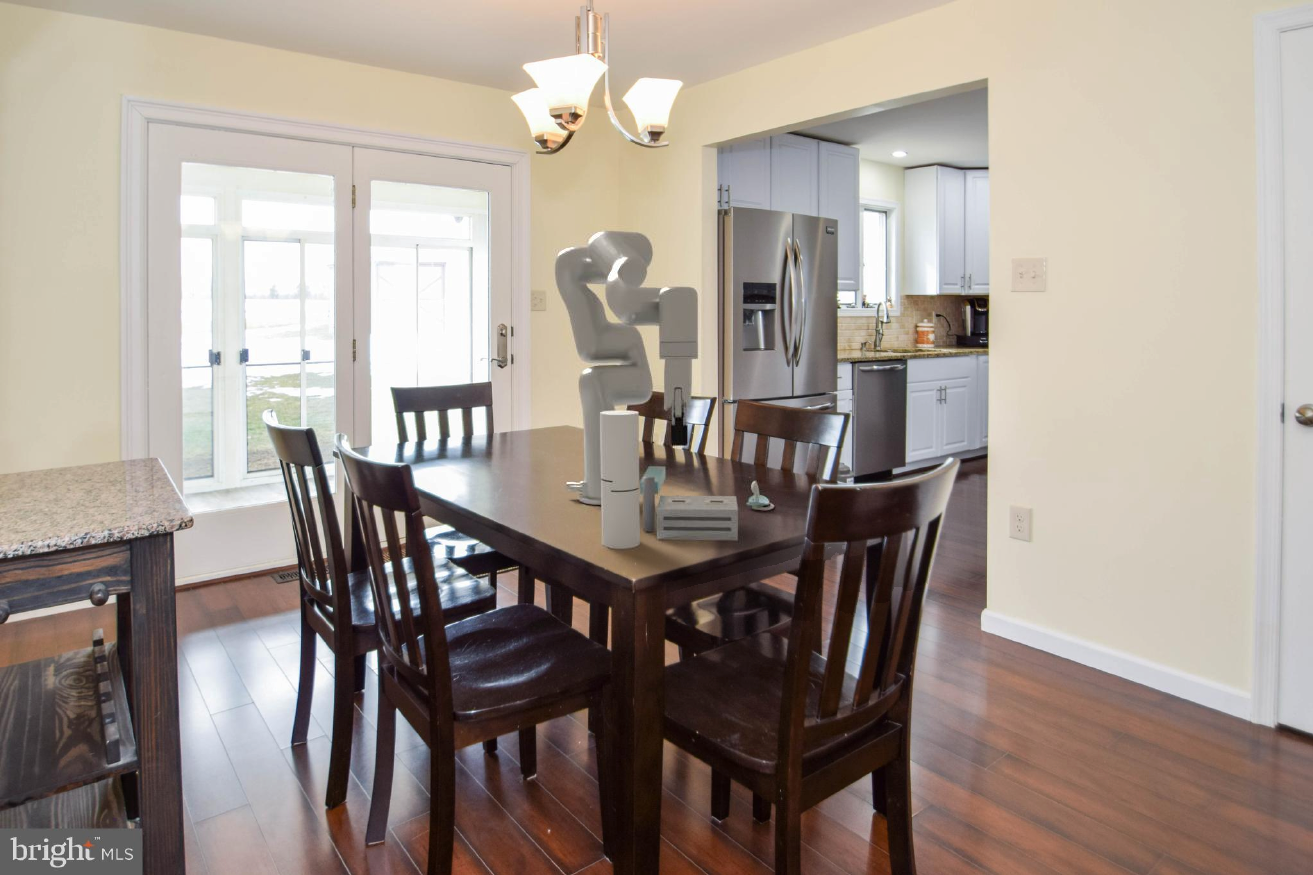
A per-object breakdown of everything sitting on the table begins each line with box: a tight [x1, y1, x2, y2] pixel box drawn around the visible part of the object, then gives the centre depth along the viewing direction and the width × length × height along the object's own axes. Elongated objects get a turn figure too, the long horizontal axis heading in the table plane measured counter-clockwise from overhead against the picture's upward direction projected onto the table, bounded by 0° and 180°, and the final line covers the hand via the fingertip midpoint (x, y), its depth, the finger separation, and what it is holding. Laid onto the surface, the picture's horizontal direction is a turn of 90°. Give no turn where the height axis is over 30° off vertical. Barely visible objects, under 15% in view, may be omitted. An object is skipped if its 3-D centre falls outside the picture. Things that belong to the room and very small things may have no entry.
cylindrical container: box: [600, 409, 641, 550], centre depth 150 cm, size 7×7×25 cm
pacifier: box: [746, 480, 775, 511], centre depth 180 cm, size 7×6×6 cm
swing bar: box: [639, 465, 666, 532], centre depth 168 cm, size 19×4×11 cm, turn 174°
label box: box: [656, 495, 739, 541], centre depth 159 cm, size 16×12×6 cm
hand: (679, 444), depth 158 cm, fingers closed
